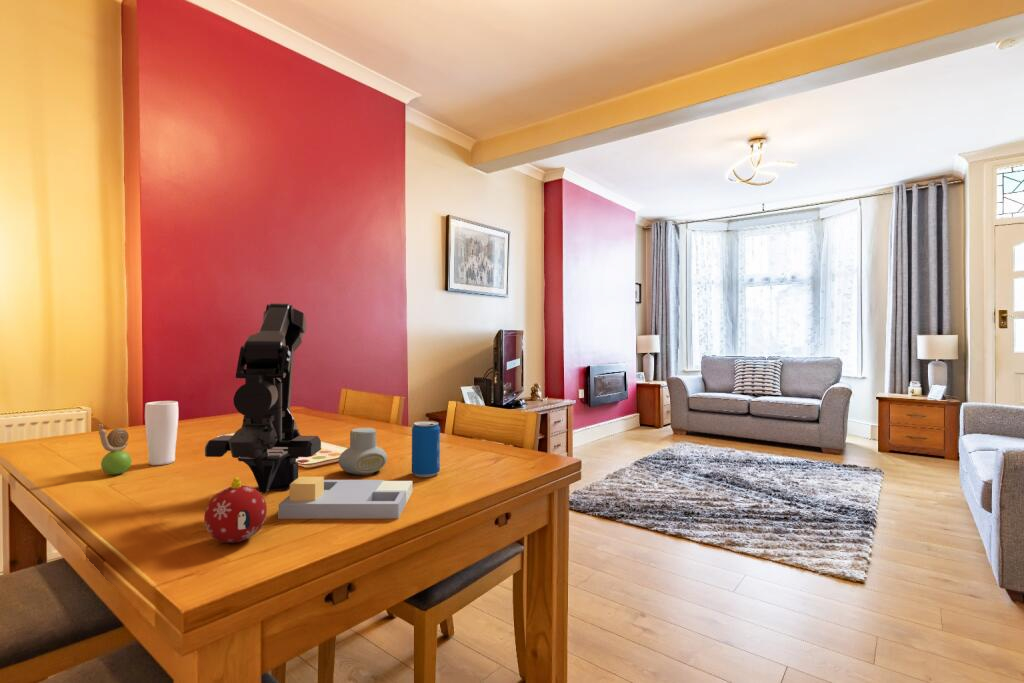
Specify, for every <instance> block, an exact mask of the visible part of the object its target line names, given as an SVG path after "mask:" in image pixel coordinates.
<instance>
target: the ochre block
mask: <svg viewBox="0 0 1024 683" xmlns="http://www.w3.org/2000/svg"><path fill="white" fill-rule="evenodd" d="M324 480H325V477H324V476H298V478H297V479H296V480H295V481H293V482H292V483H291V484H290V488H289V495H290V501H315V500H316V499H317V498H318V497H320V496H321V495H322V494H323V493H324Z"/></svg>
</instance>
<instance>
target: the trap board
mask: <svg viewBox="0 0 1024 683" xmlns="http://www.w3.org/2000/svg"><path fill="white" fill-rule="evenodd" d="M413 486H414V485H413V480H384V479H324V493H323V494H322V495H321V496H320V497H318V498H317V499H316V500H315V501H290V494H289V495H288V496H287V497H285V498H284V499H282V500H281V501H280V502H279V503H278V519H279V520H280V519H281V520H282V519H283V520H284V519H285V520H286V519H293V520H294V519H302V520H303V519H306V520H307V519H308V520H309V519H322V520H323V519H327V520H329V519H331V520H332V519H349V520H350V519H360V520H361V519H365V520H366V519H375V520H376V519H388V520H389V519H400V517H401V514H402V512H403V510H405V506H406V505H407V503H408V501H409V499H410V497H411V495H412V493H413Z"/></svg>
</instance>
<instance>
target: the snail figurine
mask: <svg viewBox="0 0 1024 683" xmlns="http://www.w3.org/2000/svg"><path fill="white" fill-rule="evenodd" d="M97 427H98V430H99V431H98V435H99V437H100V438H99V439H100V442H101V445H102V447H103V449H104V450H105V451H108V453H106V454H105V455H104V456H103V458H102V459H101V463H100V466H101V469H102V470H103V472H104V473H106V474H108V475H111V476H112V475H113V476H114V475H120V474H123V473H125V472H127V470H129V469H130V467H131V465H132V460H133V459H132V457H131V455H130V453H128V452H127V451H125V450H124V449H126V447H127V446H128V445H129V444H128V443H127V442H128V440H129V433H128V431H127V430H126V429H124V428H122V427H121V428H114V429H113V430H111V431H110V432H109V433H108V434H107V430H106V428H105V429H104V428H103V427H104V424H100V423H99V424H98V425H97Z"/></svg>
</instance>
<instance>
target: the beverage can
mask: <svg viewBox="0 0 1024 683" xmlns="http://www.w3.org/2000/svg"><path fill="white" fill-rule="evenodd" d="M440 469H441V427H440V425H439V422H438V421H434V420H420V421H416V422H414V423H413V426H412V428H411V473H412V474H414V476H415V477H417V478H432V477H435V476H436V475H437V474H438V473H439V472H440V471H441V470H440Z"/></svg>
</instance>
